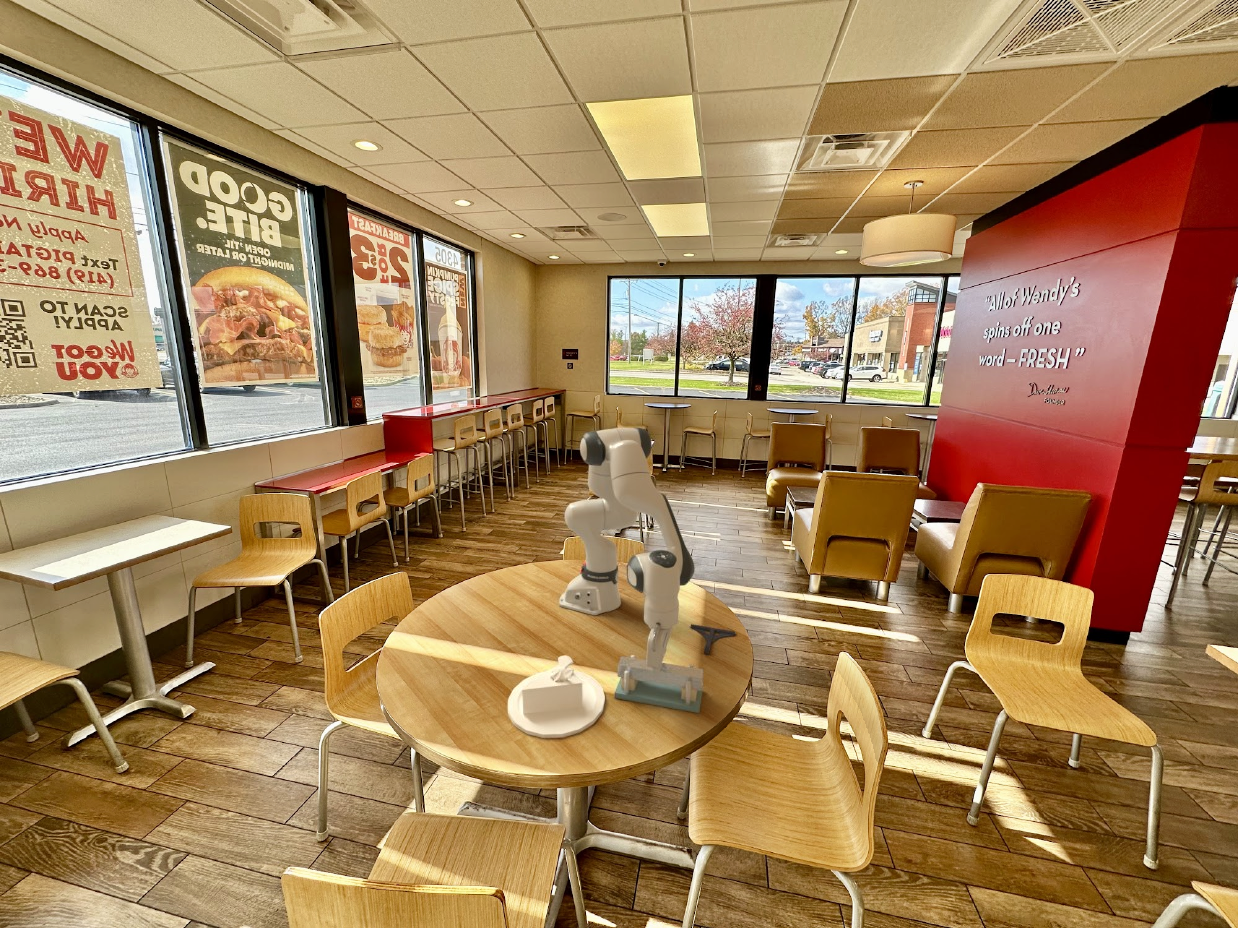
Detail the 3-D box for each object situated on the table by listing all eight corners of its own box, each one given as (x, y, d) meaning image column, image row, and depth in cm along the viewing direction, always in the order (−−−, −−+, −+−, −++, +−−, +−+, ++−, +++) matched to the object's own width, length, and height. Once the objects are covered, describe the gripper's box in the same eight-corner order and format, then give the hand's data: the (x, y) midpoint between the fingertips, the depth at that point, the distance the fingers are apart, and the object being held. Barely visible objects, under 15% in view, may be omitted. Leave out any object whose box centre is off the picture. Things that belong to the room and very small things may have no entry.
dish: (576, 663, 145) (576, 628, 142) (622, 714, 124) (623, 674, 122) (494, 692, 132) (492, 654, 129) (530, 755, 111) (529, 711, 109)
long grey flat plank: (617, 676, 131) (617, 664, 130) (621, 667, 135) (621, 656, 134) (701, 690, 126) (701, 678, 125) (702, 680, 129) (703, 669, 129)
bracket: (682, 651, 151) (682, 643, 151) (691, 627, 165) (691, 619, 164) (730, 661, 147) (730, 652, 146) (735, 635, 161) (735, 627, 160)
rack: (614, 697, 130) (614, 672, 128) (622, 676, 138) (623, 652, 136) (699, 712, 124) (700, 686, 123) (702, 690, 133) (703, 665, 131)
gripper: (667, 637, 116) (665, 689, 119) (678, 597, 135) (677, 642, 138) (640, 633, 117) (639, 685, 120) (656, 594, 137) (654, 639, 140)
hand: (659, 662), depth 129 cm, fingers open, 8 cm apart
